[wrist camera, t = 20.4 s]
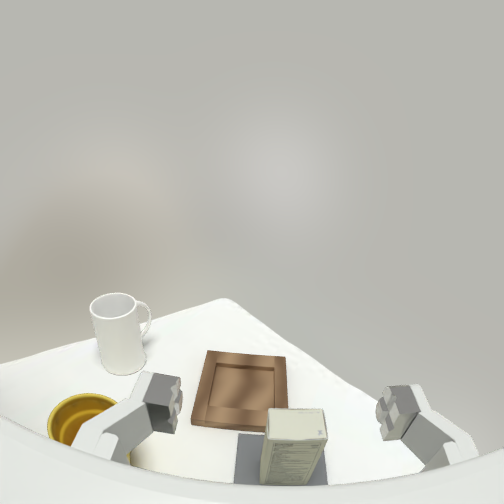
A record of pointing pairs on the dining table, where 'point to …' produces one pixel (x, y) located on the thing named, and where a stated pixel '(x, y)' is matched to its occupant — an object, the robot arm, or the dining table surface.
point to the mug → (119, 332)
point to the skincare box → (292, 445)
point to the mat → (251, 458)
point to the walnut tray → (239, 391)
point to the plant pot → (76, 416)
